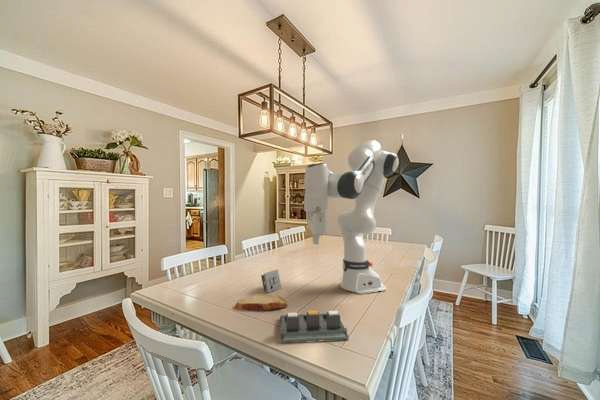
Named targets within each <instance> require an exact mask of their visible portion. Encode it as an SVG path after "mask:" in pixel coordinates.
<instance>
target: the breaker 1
mask: <svg viewBox="0 0 600 400" xmlns="http://www.w3.org/2000/svg"><path fill="white" fill-rule="evenodd" d="M298 314H299V312H287V313H286V315H287V319H286V329H287V331H295V330H299V315H298Z"/></svg>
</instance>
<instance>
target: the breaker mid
mask: <svg viewBox="0 0 600 400" xmlns="http://www.w3.org/2000/svg"><path fill="white" fill-rule="evenodd" d="M306 314H307V324H306V326H307V330H316V329H319V314H320V313H319V311H318V310H308V311H307V312H306Z"/></svg>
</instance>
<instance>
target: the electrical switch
mask: <svg viewBox="0 0 600 400" xmlns="http://www.w3.org/2000/svg"><path fill="white" fill-rule="evenodd" d="M260 276H261V282H262V288H263V292H266V293H267V294H268V293H269V294H270V293H271V292H274V291H277V290H279V289H281V288H282V285H281V284H282V283H281V279H280V273H279V270H278V269H274V270H271V271H268V272H265V273H263V274H261V275H260Z"/></svg>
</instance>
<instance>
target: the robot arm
mask: <svg viewBox="0 0 600 400" xmlns="http://www.w3.org/2000/svg"><path fill="white" fill-rule="evenodd" d="M382 149H383V148H382V146H381V144H380V143H379V142H378V141H376V140H371V139H370V140H367V141H364V142H363V143H360V144H359V145H358V146H356V147H355V148H354V149H353V150H352V151H351V152H350V153H349V155H348V157H347V161H348V166H349V168H350V169H351V170H352V171H346V172H332V171H331V170H330V169H329V167H328V164H327V163H324V162H318V163H311V164H308V165H307V166H306V167H305V172H304V182H303V183H304V185H303V186H304V190H305V194H304V199H303V204H304V205H303V206H304V207H303V209H304V210H303V211H304V212H306V225H307V228H308V229H309V230H310V231H311V235H312V243H313V244H314V245H319V244H320V236H325V235H326V232H327V223H326V222H327V218H326V217H327V215H326V213H325V212H328V211H329V198H331V199H349V200H354V202H355V206H354V210H346V211H343V212H341V213H340V214H339V215H338V217H337V224H338V227H339V228H340V231H341V236H342V240H343V259H342V270H343V271H342V279H341V282H340V287H341V289H343V290H345V291H349V292H353V293H356V294H358V295H363V294H372V292H373V293H379V292H378V291H381V292H386V291H387V287H386V285H385V284H384V283H382V281H381V277H380V274H378V273H377V272H376V271H374V270H373V269H372V267H373V266H374V263H373V262H371V261H369V260H367V246H366V243H365V241H364V239H363V236H364V235H371V234H372V233H374V231H375V230H376V226H377V221H376V219H375V216H374V215H375V208H376V205H377V202H378V199H379V197H380V195H381V192H382V190H383V187H384V185H385V180H386V178H388V177H390V176H391V175H393V174H394V173H395V172H396V171H397V169H398V167H399V163H400V159H399V156H398V154H395V153H394V152H388V151H386V150H382ZM362 235H363V236H362ZM385 290H386V291H385Z"/></svg>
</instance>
